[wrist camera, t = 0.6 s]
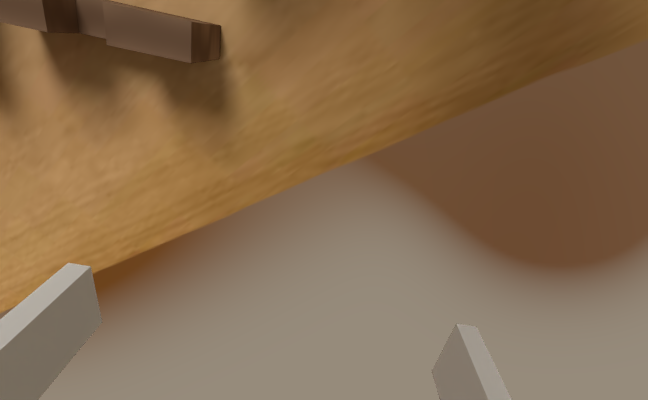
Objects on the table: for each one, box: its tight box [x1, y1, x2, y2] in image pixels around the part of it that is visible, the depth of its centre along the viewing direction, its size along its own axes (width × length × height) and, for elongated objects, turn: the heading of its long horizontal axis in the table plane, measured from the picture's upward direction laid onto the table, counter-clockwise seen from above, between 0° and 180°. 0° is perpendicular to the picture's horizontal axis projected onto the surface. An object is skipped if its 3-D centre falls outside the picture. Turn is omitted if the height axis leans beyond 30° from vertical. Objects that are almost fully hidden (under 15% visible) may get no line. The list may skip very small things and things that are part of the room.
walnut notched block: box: [0, 0, 221, 63], centre depth 28 cm, size 3×18×7 cm, turn 79°
